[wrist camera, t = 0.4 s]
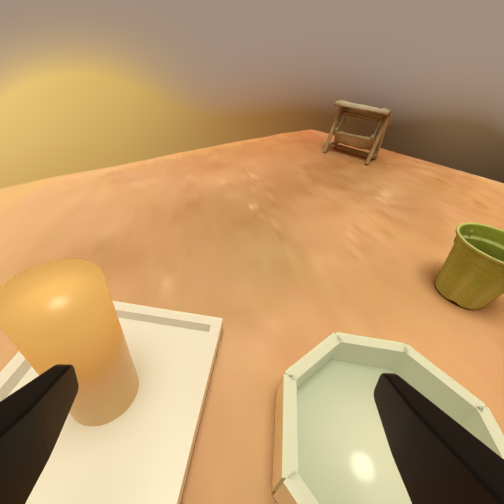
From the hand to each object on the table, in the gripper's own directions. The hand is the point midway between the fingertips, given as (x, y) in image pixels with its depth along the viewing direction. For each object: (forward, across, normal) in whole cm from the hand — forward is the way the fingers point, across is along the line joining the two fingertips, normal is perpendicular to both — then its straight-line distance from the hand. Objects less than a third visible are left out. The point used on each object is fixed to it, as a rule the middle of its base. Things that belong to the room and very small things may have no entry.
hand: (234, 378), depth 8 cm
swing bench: (+80, -35, -3) cm, 88 cm away
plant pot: (+24, -32, +11) cm, 41 cm away
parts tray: (+10, +10, +14) cm, 20 cm away
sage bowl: (+6, -12, +15) cm, 20 cm away
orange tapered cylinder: (+10, +10, +14) cm, 19 cm away
